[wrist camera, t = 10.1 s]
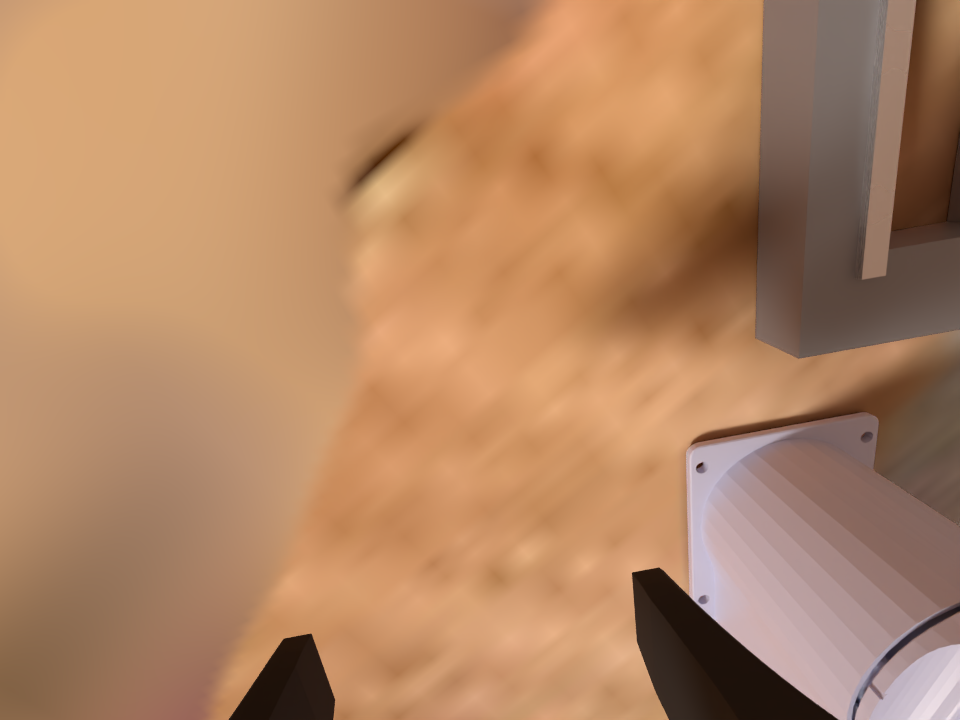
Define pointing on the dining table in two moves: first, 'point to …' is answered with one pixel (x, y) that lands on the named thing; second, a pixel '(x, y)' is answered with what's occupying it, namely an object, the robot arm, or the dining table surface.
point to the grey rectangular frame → (843, 185)
